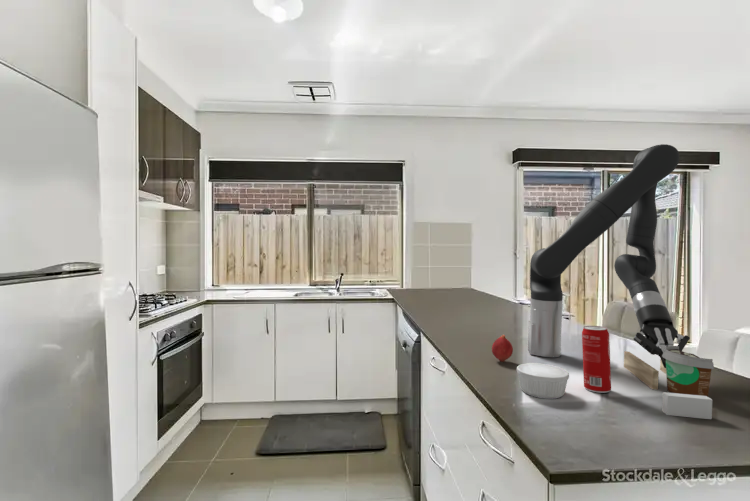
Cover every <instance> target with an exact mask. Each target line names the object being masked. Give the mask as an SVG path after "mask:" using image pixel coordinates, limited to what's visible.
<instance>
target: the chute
mask: <svg viewBox="0 0 750 501" xmlns="http://www.w3.org/2000/svg"><path fill="white" fill-rule="evenodd" d="M623 353H624V354H623V355H624V356H623V368H624V369H626V370H627V371H629V372H630V373H631V374H632V375H634V376H635V377H636V378H637V379H638V380H640V381H641V382H643V384H645V385H646V386H647V387H649V388H650V389H652V390H655V391H656V390H657V391H658V390H659V373H660V372H661V371H662V373H664V374H666V368H664V366H663V364H662V361H661V359H659V360H660V365H659V370H657V369H656V368H655V367H653V366H652V365H650V364H648V363H647V362H645V361H644V360H642V359H641V358H639V357H638V356H636V355H635V354H634V353H632V352H630V351H626V350H625V351H624V352H623ZM659 371H660V372H659Z"/></svg>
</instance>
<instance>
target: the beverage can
mask: <svg viewBox="0 0 750 501" xmlns="http://www.w3.org/2000/svg"><path fill="white" fill-rule="evenodd" d="M581 343H582V366H583V367H582V368H583V370H582V371H583V374H582V375H583V387H584V388H585V389H586V390H587V391H590V392H592V393H593V392H594V393H598V394H599V393H600V394H601V393H602V394H603V393H604V394H605V393H610V392H611V391H612V374H611V371H612V370H611V369H612V368H611V348H610V345H611V344H610V343H611V342H610V332H609V330H608V327H605V326H601V325H584V326H583V328H582V331H581Z"/></svg>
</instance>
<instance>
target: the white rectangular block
mask: <svg viewBox="0 0 750 501" xmlns="http://www.w3.org/2000/svg"><path fill="white" fill-rule="evenodd" d="M661 410H662V413H664V414H665V415H666V416H673V417H674V416H675V417H683V418H684V417H685V418H686V417H687V418H695V419H703V420H704V419H705V420H712V417H713V399H712V398H711V397H709V396H708V397H707V396H700V395H689V394H678V393H669V392H668V391H667V392H666V391H663V392H662V408H661Z"/></svg>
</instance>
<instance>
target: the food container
mask: <svg viewBox="0 0 750 501" xmlns="http://www.w3.org/2000/svg"><path fill="white" fill-rule="evenodd" d="M662 357H663V358H665V359H666V373H665V375H666V389H667V393H678V394H689V395H700V396H707V397H709V394H710V393H709V391H710V387H711V386H710V383H711V376H712V370H714V369H715V367H714V362H713V358H705V357H704V358H702V357H699V356H698V355H696V354H694V353H690V352H686V351H683V350H682V351H680V350H679V346H678V345H673V346H668V347H666V348H665V350H664V352H663V355H662Z"/></svg>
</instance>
